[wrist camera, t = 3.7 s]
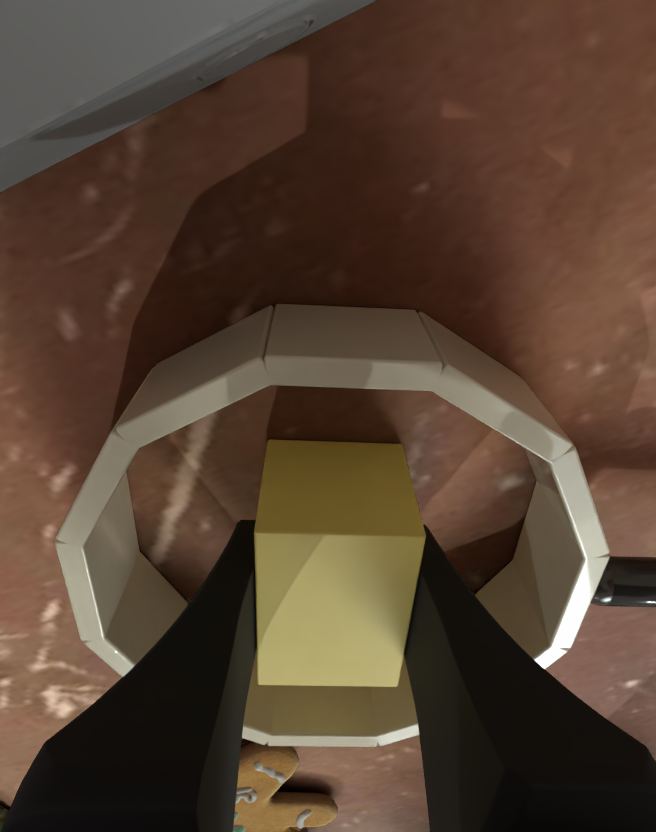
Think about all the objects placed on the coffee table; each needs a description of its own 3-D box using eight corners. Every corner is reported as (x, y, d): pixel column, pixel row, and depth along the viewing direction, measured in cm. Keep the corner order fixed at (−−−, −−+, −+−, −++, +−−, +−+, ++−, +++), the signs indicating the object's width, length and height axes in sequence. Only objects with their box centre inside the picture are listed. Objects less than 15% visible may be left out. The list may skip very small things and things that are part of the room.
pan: (138, 652, 18) (108, 745, 15) (70, 293, 12) (-1, 344, 9) (730, 662, 19) (797, 752, 16) (948, 332, 13) (1114, 389, 10)
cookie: (311, 754, 19) (356, 876, 24) (311, 727, 20) (355, 851, 25) (93, 781, 20) (180, 895, 25) (102, 755, 21) (184, 870, 25)
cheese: (383, 580, 16) (398, 687, 13) (268, 578, 16) (257, 685, 13) (402, 442, 14) (426, 535, 11) (267, 438, 14) (253, 531, 11)
